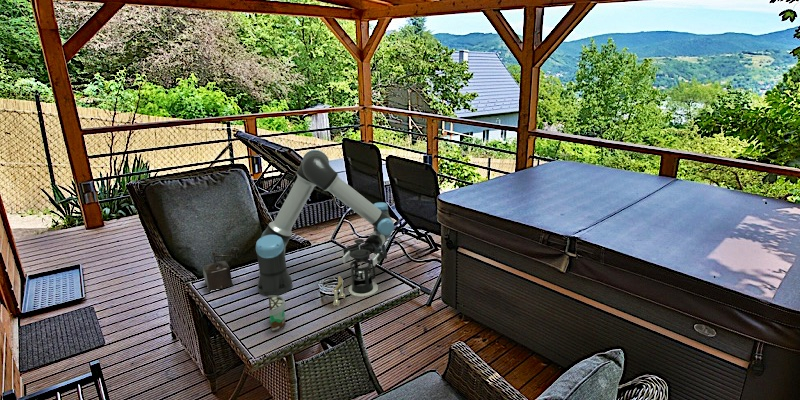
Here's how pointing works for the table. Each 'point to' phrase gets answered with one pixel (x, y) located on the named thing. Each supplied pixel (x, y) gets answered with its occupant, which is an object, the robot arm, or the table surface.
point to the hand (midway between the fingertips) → (358, 261)
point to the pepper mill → (219, 272)
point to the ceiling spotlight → (341, 295)
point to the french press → (361, 270)
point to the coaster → (374, 290)
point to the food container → (276, 312)
